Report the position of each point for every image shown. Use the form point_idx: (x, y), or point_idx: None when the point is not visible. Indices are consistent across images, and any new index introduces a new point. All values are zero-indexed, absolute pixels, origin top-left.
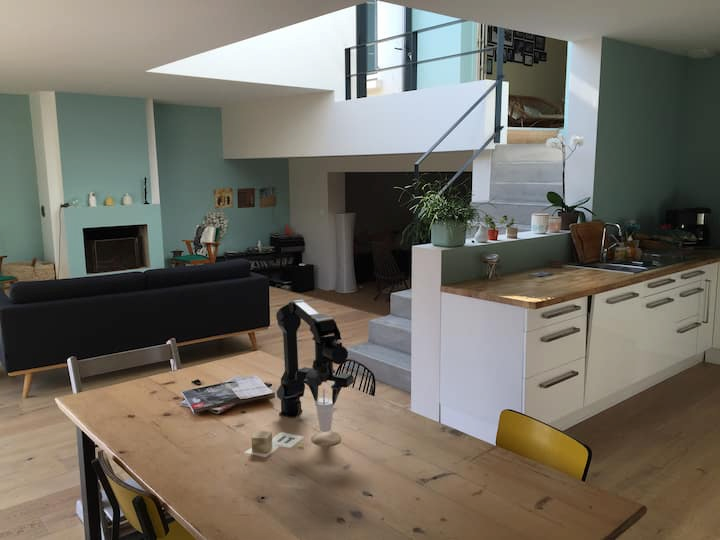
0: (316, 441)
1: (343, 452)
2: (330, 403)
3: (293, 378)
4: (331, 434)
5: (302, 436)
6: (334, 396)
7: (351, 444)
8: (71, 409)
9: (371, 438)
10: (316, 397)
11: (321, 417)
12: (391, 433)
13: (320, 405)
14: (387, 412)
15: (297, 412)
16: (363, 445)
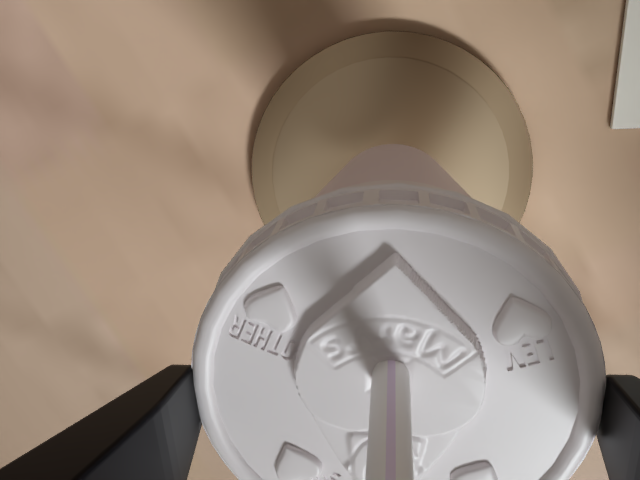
0: (437, 75)
1: (116, 15)
2: (230, 356)
3: None
4: None
5: (629, 124)
6: (22, 466)
7: (148, 182)
8: None
9: (83, 329)
10: (624, 448)
11: (390, 167)
12: (21, 438)
13: (386, 209)
14: None
15: None
16: (60, 206)
